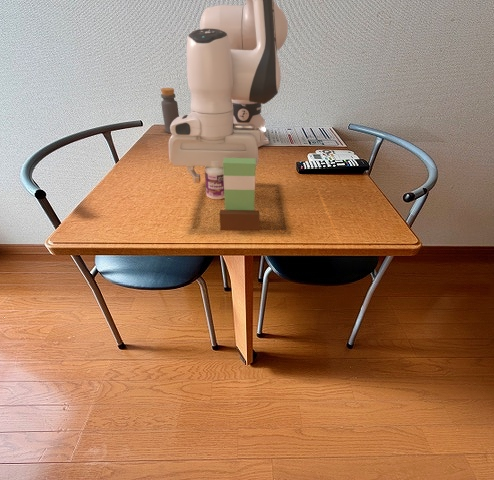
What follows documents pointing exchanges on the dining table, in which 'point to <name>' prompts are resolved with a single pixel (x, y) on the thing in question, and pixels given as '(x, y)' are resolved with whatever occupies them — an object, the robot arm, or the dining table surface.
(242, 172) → the block
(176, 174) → the dining table surface
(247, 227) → the mat
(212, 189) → the pill bottle
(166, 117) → the bottle
